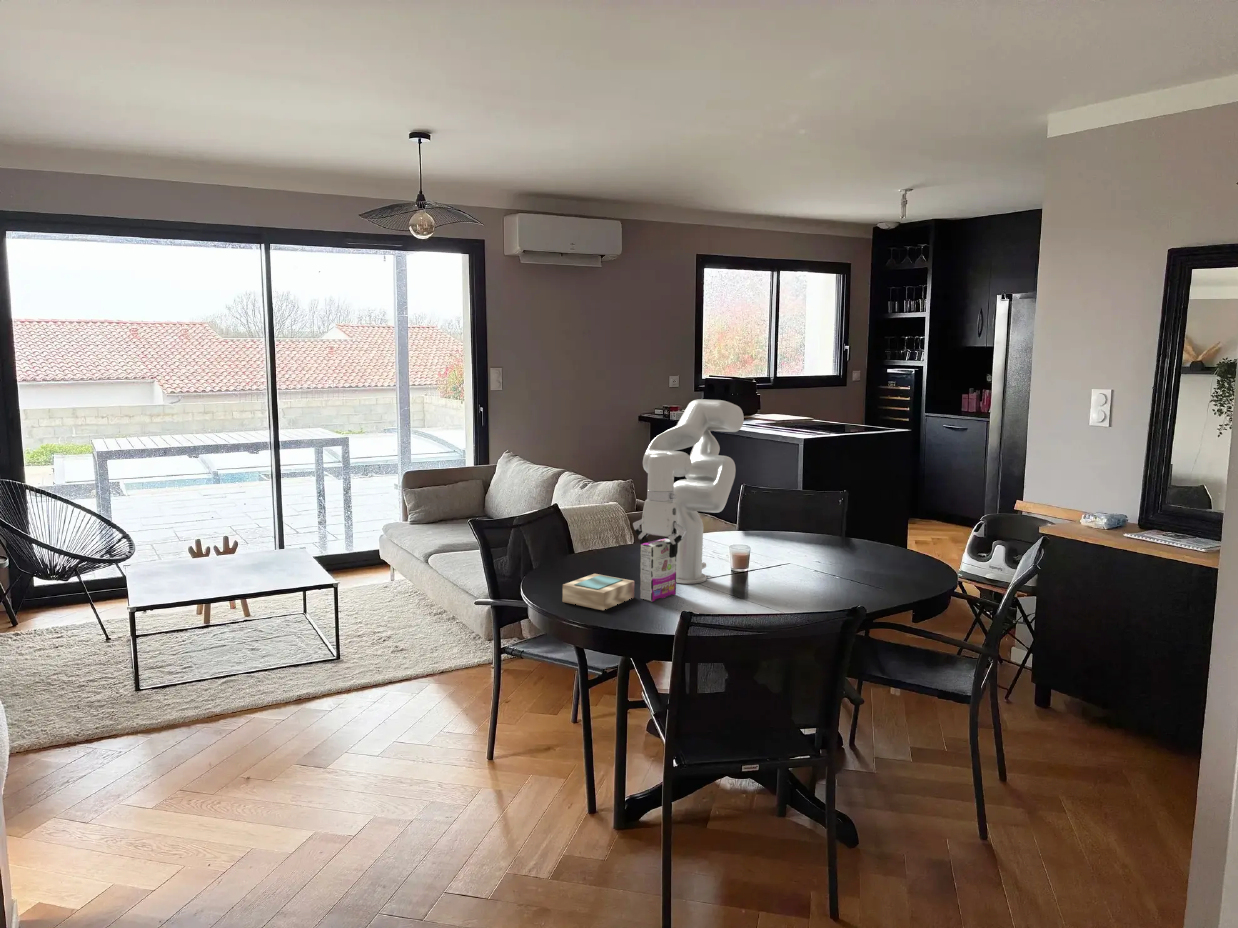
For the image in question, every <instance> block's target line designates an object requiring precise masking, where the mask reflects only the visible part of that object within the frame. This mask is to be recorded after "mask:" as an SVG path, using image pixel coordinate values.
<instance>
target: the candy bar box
mask: <svg viewBox="0 0 1238 928" xmlns="http://www.w3.org/2000/svg"><path fill="white" fill-rule="evenodd" d="M670 544H671V541H670V540H669V538H662V539H661V538H660V539H657V540H653V541H648V543H644V544H641V552H640V560H639V561H640V564H639V565H640V567H639V568H640V573H639V575H640V579H639V580H640V581H639V582H640V583H639V584H640V587H639V588H640V589H639V598H640V599H641V600H643V599H644V601H647V602H656V601H659V600H663V599H666V598H668V597H672V596H675V595H676V594H677V583H676V557H673V558H670V557H669V549H670Z"/></svg>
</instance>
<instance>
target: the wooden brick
mask: <svg viewBox="0 0 1238 928" xmlns="http://www.w3.org/2000/svg"><path fill="white" fill-rule="evenodd" d="M631 598H632V599H634V598H635V580H632V579H627V578H626V579H625V578H620V577H614V576H609V575H603V574H600V573H599V574H598V573H593V574H589V575H587V576H584V577H580V578H578V579H575V580H572V581H570V582H569V581H568V582H565V583H563V584H562V599H561V600H562V603H566V604H571V605H575V604H576V605H575V606H581V607H585V608H591V609H594V610H600V611H606V610H608V609H610V608H612V607H615V606H617V604H618V605H620V604H623V603H625V602H627V601H629V599H630V600H632V599H631ZM624 601H625V602H624ZM605 609H606V610H605Z"/></svg>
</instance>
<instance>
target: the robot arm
mask: <svg viewBox="0 0 1238 928" xmlns="http://www.w3.org/2000/svg"><path fill="white" fill-rule="evenodd" d="M744 417H745V416H744V413H743V410H742V408H741V407H740V406H738V405H737V404H734V403H732V402H730V401H726V400H721V399H704V398H703V399H702V398H701V399H694V400H692V401H690V402H689V403H688V404H687V406H686V408H685V409H684V411H683V413H682V415H681V417H680V418H679V420H678V422H677V423H676V425H675V426H673V427H671V428H669V429H667V430H665V431H664V432H662V433H660V434H658V435H656V437H654V438H653V439H652V440H651V441H650V443H649V445H648V447H647V449H646V450H645V453H643V454H644V455H643V459H642V467H643V470H644V471H645V472H646V474H647V490H646V491H647V493H646V494H647V495H646V499H645V501H644V505H643V510H642V517H641V518H640V519H639V520H636V521H634V522H633V523H632V526H633V529H634V530H635V531H634V532H635V534H636V535H637V536H638V540H639V549H640V553H641V544H644V543H648V542H649V539H648V536H649V535H650V536H658V537H664V538H665V537H666V538H667V539H669V540H670V541H671V544H670V549H669V557H670V558H673V557H676V584H685V585H686V584H688V585H689V584H693V585H694V584H701V583H704V582H705V581H707V575H706V574H704V573H703V569H705V568H707V563H706V562H703V545H704V544H703V543H704V542H703V541H704V524H703V520H702V518H701V516H700V514H699V512H703V513H714V514H715V513H720V512H722V511H723V510H724V508H725V506H726V504H727V502H728V498H729V495H730V493H731V491H732V488H733V485H734V482H735V479H736V471H737V470H736V464H735V461H734V459H733V458H731V457H729V456H727V455H719V453H720V449H721V448H720V444H719V442H718V441H717V439H716V437H715V436H714V435H713V434H712V433H711V432H713V431H714V432H726V433H737V432H738V431H740V429H742V427H743V424H744V421H745V419H744ZM690 447H691V448H692V449H691V451H690V454H688V453H686V452H684V451H680V450H684V449H687V448H690ZM675 477H676V478H681V477H685V478H684V479H679V480H677V481H675ZM640 525H641V526H640Z"/></svg>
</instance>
